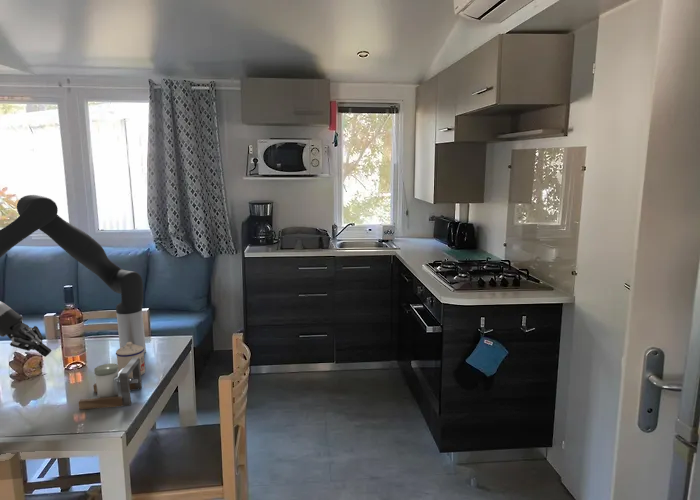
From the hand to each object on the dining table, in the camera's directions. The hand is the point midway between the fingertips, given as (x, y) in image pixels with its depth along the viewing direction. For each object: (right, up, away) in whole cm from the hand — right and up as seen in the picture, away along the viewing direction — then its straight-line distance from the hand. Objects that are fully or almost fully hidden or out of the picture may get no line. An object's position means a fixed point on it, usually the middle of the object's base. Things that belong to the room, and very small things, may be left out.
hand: (48, 353), depth 150 cm
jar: (+16, -15, +5) cm, 23 cm away
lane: (+16, -15, +5) cm, 23 cm away
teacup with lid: (+15, -12, +25) cm, 31 cm away
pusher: (+22, -14, +5) cm, 27 cm away
